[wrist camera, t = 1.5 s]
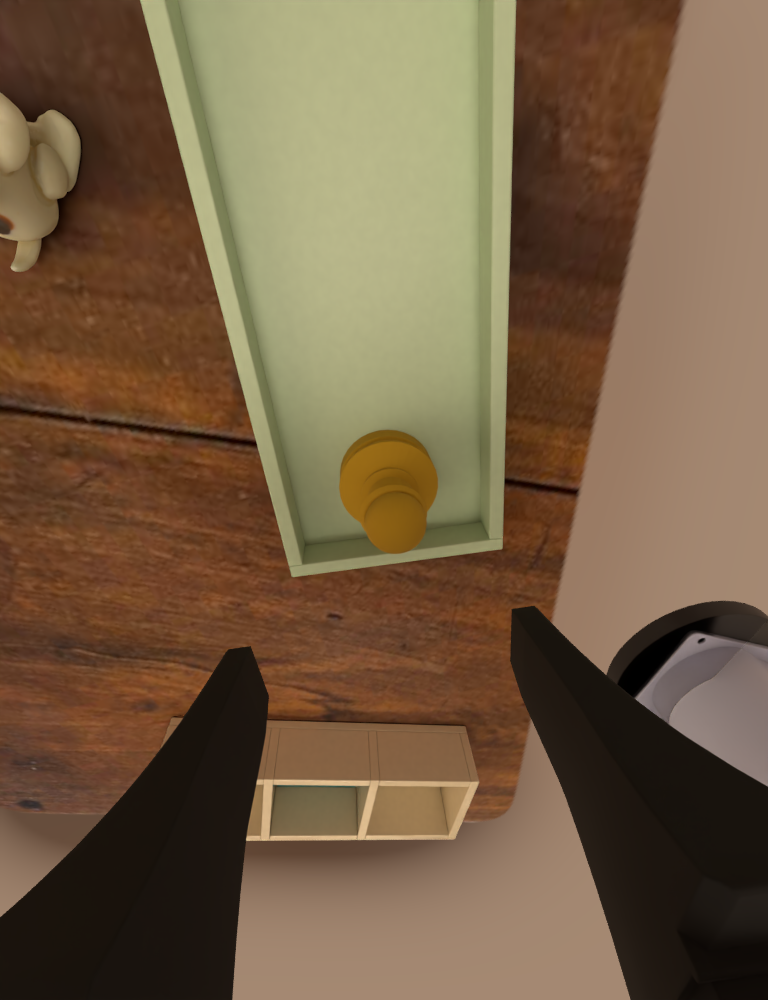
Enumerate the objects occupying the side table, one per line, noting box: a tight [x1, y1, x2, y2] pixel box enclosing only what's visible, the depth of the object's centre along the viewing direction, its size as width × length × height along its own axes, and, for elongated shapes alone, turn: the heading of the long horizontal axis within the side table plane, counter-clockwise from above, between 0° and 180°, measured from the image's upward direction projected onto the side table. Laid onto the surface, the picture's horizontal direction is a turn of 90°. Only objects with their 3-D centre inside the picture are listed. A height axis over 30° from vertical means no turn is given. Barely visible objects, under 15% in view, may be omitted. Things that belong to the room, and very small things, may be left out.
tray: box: [140, 0, 516, 577], centre depth 12 cm, size 34×9×2 cm, turn 6°
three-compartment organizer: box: [160, 717, 479, 841], centre depth 28 cm, size 18×6×4 cm, turn 81°
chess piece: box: [339, 430, 438, 554], centre depth 17 cm, size 4×4×5 cm
